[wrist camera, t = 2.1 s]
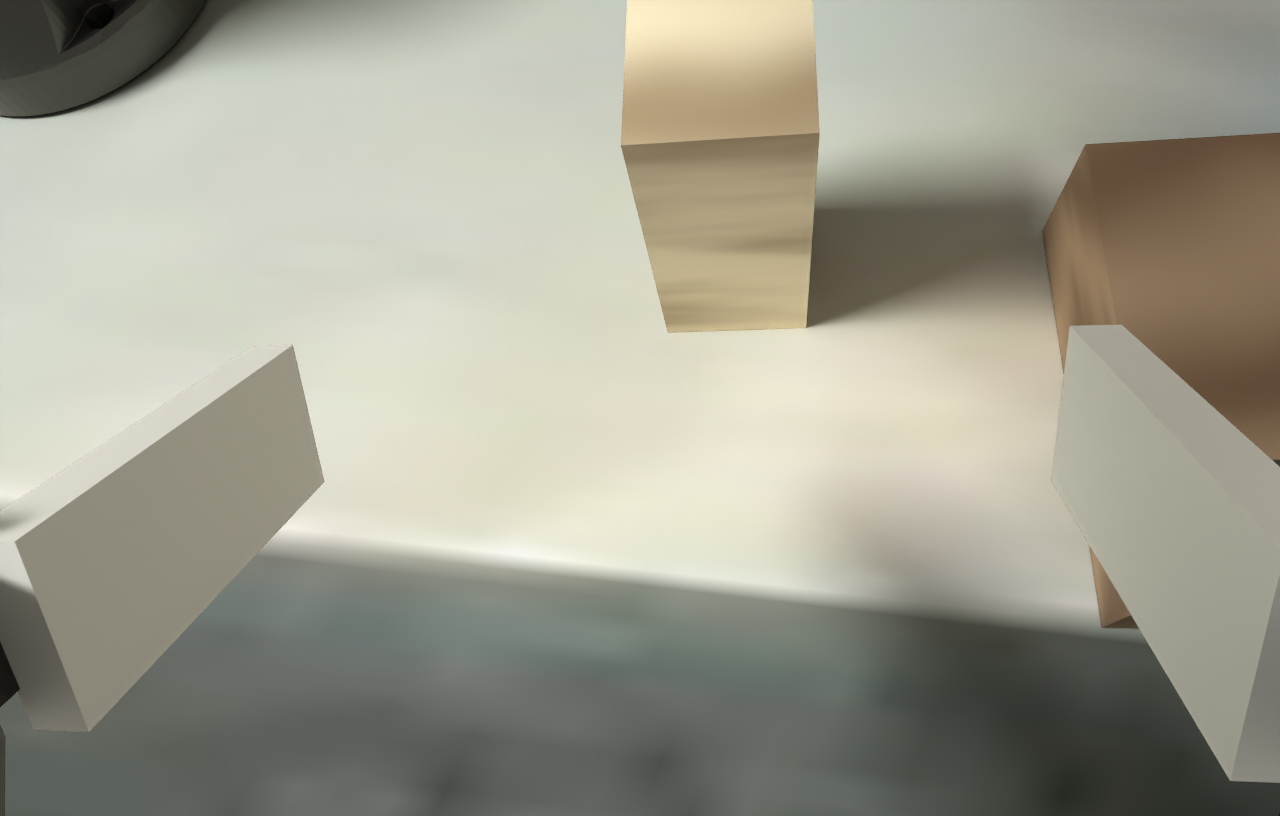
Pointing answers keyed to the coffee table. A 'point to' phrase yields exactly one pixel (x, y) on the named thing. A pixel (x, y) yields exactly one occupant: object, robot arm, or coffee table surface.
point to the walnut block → (1178, 273)
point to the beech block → (724, 157)
